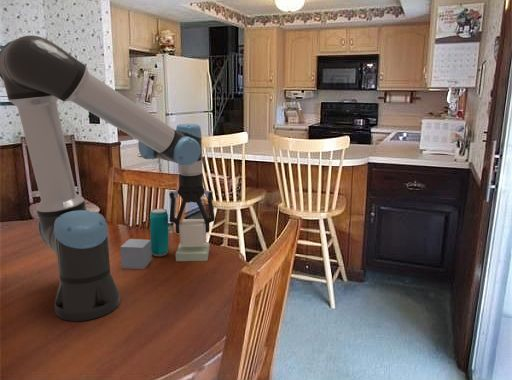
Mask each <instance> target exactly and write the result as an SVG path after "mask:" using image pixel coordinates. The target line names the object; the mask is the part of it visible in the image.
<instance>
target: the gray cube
mask: <svg viewBox="0 0 512 380" xmlns="http://www.w3.org/2000/svg"><path fill="white" fill-rule="evenodd" d="M119 247H120V260H121V268H122V269H135V270H145V269H146V268H147V266H149V264H150V263H151V262H152V261H153V256H152V255H153V254H152V251H151V239H140V238H139V239H138V238H137V239H136V238H129V239H128V240H126V242H124V243H123V244H122V245H121V246H119Z"/></svg>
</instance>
